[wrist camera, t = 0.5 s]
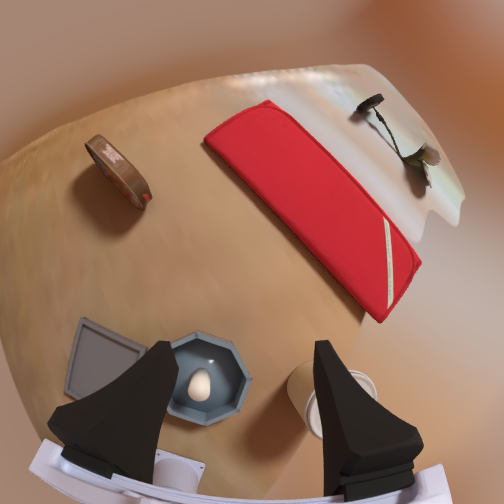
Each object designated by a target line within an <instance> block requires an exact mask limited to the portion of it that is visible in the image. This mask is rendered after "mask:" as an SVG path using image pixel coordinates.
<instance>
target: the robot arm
mask: <svg viewBox="0 0 504 504" xmlns="http://www.w3.org/2000/svg"><path fill="white" fill-rule="evenodd" d="M178 372H179V367H178V364H177V361H176V358H175V356H174V353H173V350H172V347H171V344H170V341H158V342H157V343H156V344H155V345H154V346H153V347H152V348H151V349H149V350H148V351H147V352H146V353H145V354H144V355H143V356H142V357H141V358H140V359H139V360H138V361H137V362H136V363H134V364H133V365H132V366H131V367H130V368H129V369H127V370H126V371H125V372H124V373H123V374H121V375H120V376H119V377H118V378H116V379H115V380H113V381H112V382H111V383H109V384H108V385H106V386H105V387H103V388H101V389H99V390H98V391H96V392H94V393H92V394H90V395H88V396H86V397H84V398H82V399H79V400H77V401H75V402H72V403H69V404H66V405H63V406H59V407H57V408H56V410H55V411H54V413H53V414H52V416H51V418H50V419H49V421H48V423H47V424H48V427H49V429H50V430H51V431H52V432H53V433H54V434H55V435H56V436H57V437H58V438H59V439H60V440H61V441H62V442H63V443H64V444H65V446H64V448H62V447H60V446H59V445H57V444H55V443H53V442H51V441H49V440H47V439H44V441H43V443H42V445H41V447H40V448H39V450H38V452H37V454H36V456H35V458H34V459H33V462H32V463H31V465H30V467H29V470H30V471H31V472H32V473H33V474H35V475H36V476H38V477H39V478H40V479H42V480H43V481H45V482H46V483H48V484H49V485H50V486H52V487H53V488H55V489H56V490H58V491H60V492H62V493H63V494H65V495H67V496H69V497H70V498H72V499H74V500H76V501H78V502H80V503H82V504H453V502H452V498H451V494H450V490H449V487H448V483H447V479H446V476H445V472H444V469H443V466H442V464H438V465H435V466H432V467H430V468H427V469H424V470H421V471H419V472H417V473H415V474H413V471H412V469H413V468H414V464H413V460H414V459H415V458H416V456H418V455H419V453H420V452H421V451H422V449H423V447H424V444H423V441H422V439H421V436H420V434H419V432H418V430H417V428H416V427H414V426H412V425H410V424H408V423H406V422H405V421H403V420H401V419H400V418H398V417H397V416H395V415H394V414H392V413H391V412H390V411H388V410H387V409H385V408H384V407H383V406H382V405H380V404H379V403H378V402H377V401H376V400H375V399H374V398H372V397H371V396H370V395H369V394H368V393H367V392H366V391H365V390H364V389H363V388H362V387H361V385H360V384H359V383H358V382H357V381H356V380H355V378H354V377H353V376H352V375H351V373H350V372H349V371H348V369H347V368H346V367H345V365H344V364H343V363H342V361H341V360H340V358H339V357H338V355H337V353H336V352H335V350H334V348H333V347H332V345H331V343H330V341H328V340H322V341H315V350H314V362H313V379H314V389H315V394H316V400H317V405H318V410H319V415H320V420H321V427H322V438H323V457H324V497H320V498H309V499H293V500H249V499H233V498H222V497H213V496H206V495H199V494H197V486H198V484H199V481H200V479H201V476H202V474H203V471H204V469H205V464H204V463H202V462H198V461H195V460H191V459H188V458H184V457H181V456H178V455H175V454H172V453H169V452H166V451H163V450H160V449H157V443H158V438H159V433H160V429H161V425H162V421H163V418H164V415H165V413H166V410H167V407H168V405H169V402H170V399H171V397H172V394H173V391H174V388H175V385H176V381H177V377H178ZM156 449H157V450H156ZM157 453H158V454H160V455H158V454H157ZM200 467H203V468H200Z"/></svg>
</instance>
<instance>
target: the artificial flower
mask: <svg viewBox="0 0 504 504" xmlns="http://www.w3.org/2000/svg"><path fill="white" fill-rule="evenodd" d="M383 100H384V98H383V96H382V95H381V94H377V95H374V96H372V97H370V98H369V99H367V100H365V101H364V102H362V103H361V104H360V105H359V106H357V108H356V110H359V111H360V113H362V112H364V111H367V110H369V109H371V108H374V107H375V106H377V105H378V104H380V103H381V102H382V101H383ZM374 110H375V108H374ZM375 112H376V116H377V117H378V119H379V121H381V122H382V123H383V124H384V125H385V127H386V129H387V131H388V132H389V134H390V135H391V138H392V140H393V143H394V145H395V148H396V150H397V153H398V156H399V157H400V158H401V159H402V160H404V161H406V162H407V163H408V164H410V165H415V164H417V165H420V166H421V167H422V170H423V169H424V170H425V174H426V178H427V180H428V182H429V184H430V187H431V188H432V186H431V176H430V173H429V171H428V166H427V165H426V163H427V164H429V165H432V166H435V164H436V163H438V164H439V162H440V161H439V160H441V158H440V154H439V152H438V151H437V150H436V149H435V148H433V147H432V146H431V145H430V143H429V142H426V143H424V144H423V146H422V147H421V148H420V149H419V150H418V151H417V152H416V153H414V154H413V155H410V156H408V157H404V158H403V157H402V156H401V155H400V152H399V150H398V147H397V145H396V143H395V140H394V137H393V136H392V133H391V131H390V130H389V128H388V127H387V125H386V122H385V121H384V119H383V117H382V116H381V115H380V114H379V112H377V110H375ZM423 160H424V161H425V162H426V163H425V162H423ZM436 165H437V164H436Z"/></svg>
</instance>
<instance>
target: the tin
mask: <svg viewBox="0 0 504 504" xmlns="http://www.w3.org/2000/svg"><path fill="white" fill-rule="evenodd" d="M85 147H86V149H87V151H88V153H89V154H90V156H91V157H92V159H93V160H94V162H95V163H96V165H97V166H98V167H99V169H100V170H101V171H102V172H103V173H104V174H105V175H106V177H107V178H108V179H109V180H110V181H111V182H112V183H113V184H114V185H115V186H116V187H117V188H118V189H119V190H120V191H121V193H122V194H123V195H124V196H125V197H126V198H127V199H128V200H129V201H130V202H131V203H132V204H133V205H134V206H136V207H137V208H138V209H140V210H142V209H143V207H144V206H145V205H146V204H147V203H148V202H149V201H150V200H151V199H152V194H151V192H150V189H149V186H148V184H147V182H146V181H145V179H144V178H143V176H142V175H141V174H140V173H139V171H138V170H137V169H136V168H135V167H134V166H133V165H132V164H131V163H130V162H129V161H128V160H127V159H126V158H125V157H124V156H123V155H122V154H121V153H120V152H119V151H118V150H117V149H116V148H115V147H114V146H113V145H112V144H111V143H110V142H108V141H107V140H106V139H105V138H104V137H103V136H101V135H99V134H98V135H96V136H94V137H93V138H92V139H90V140H89V141H88V142H87V143H85Z"/></svg>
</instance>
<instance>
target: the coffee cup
mask: <svg viewBox="0 0 504 504" xmlns="http://www.w3.org/2000/svg"><path fill="white" fill-rule="evenodd" d="M313 362H314V361H310V362H306V363H303V364H301V365H300V366H298V367H297V368H296V369H295V370H294V371H293V372H292V374H291V375H290V377H289V379H288V383H287V393H288V396H289V398H290V400H291V402H292V403H293V405H294V406H295V408H296V410H297V411H298V413H299V414H300V416H301V418H302V419H303V421H304V422H305V424H306V426H307V428H308V430H309V431H310V432H311V434H312V435H314V436H315V437H317V438H319V439H321V440H323V438H322V427H321V420H320V415H319V410H318V405H317V400H316V394H315V389H314V379H313ZM348 371H349V372H350V373H351V375H352V376H353V377H354V378H355V380H356V381H357V382H358V383H359V384H360V385H361V387H362V388H363V389H364V390H365V391H366V392H367V393H368V394H369V395H370V396H371V397H372V398H374V399H375V400H376V401H377V392H376V389H375V386H374V384H373V382H372V381H371V379H370V378H369V377H368V376H366V375H365V374H363V373H361V372H358V371H354V370H348Z"/></svg>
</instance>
